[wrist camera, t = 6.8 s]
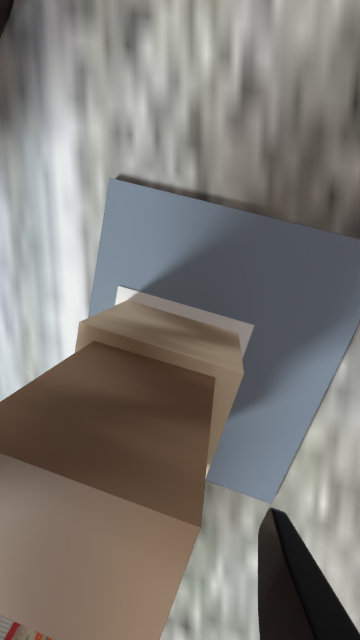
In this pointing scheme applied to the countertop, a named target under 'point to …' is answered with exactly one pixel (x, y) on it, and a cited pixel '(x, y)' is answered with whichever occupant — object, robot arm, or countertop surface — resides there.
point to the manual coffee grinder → (4, 13)
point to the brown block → (101, 493)
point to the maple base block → (174, 350)
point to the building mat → (239, 310)
